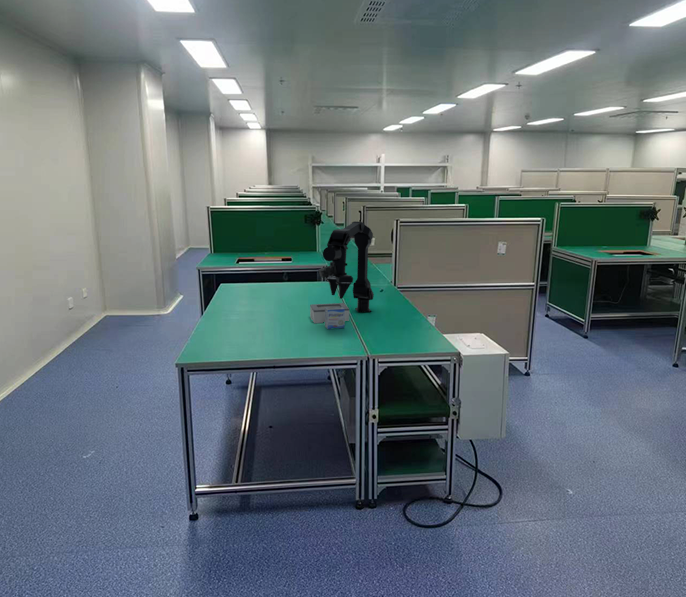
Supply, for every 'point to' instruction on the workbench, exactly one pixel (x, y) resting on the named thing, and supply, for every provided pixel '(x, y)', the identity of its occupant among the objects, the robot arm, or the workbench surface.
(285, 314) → the workbench surface
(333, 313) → the medicine box
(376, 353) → the workbench surface
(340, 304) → the open box
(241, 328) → the workbench surface
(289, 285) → the workbench surface
